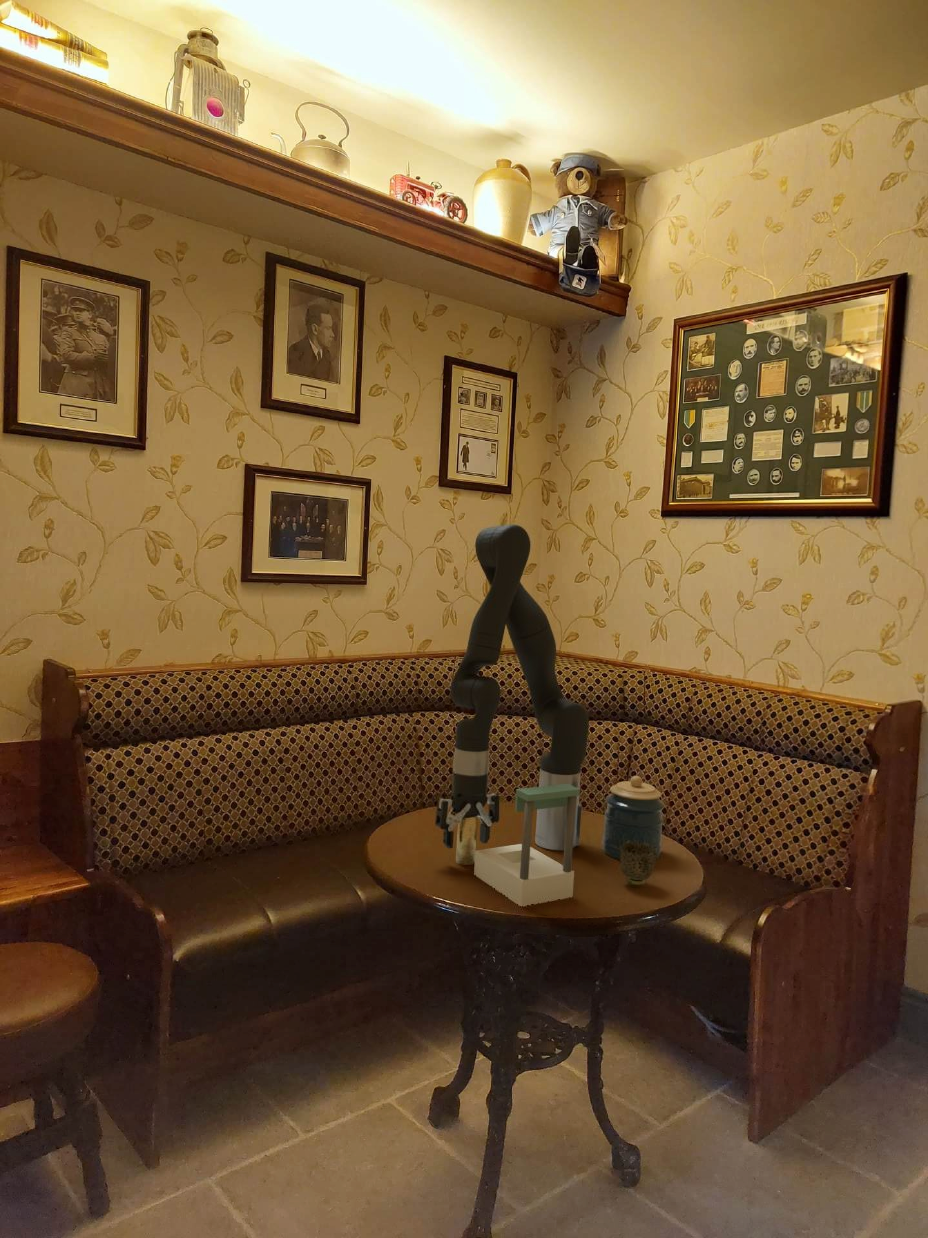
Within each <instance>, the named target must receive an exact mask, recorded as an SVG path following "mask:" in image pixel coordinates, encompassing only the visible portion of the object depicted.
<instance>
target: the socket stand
mask: <svg viewBox="0 0 928 1238" xmlns="http://www.w3.org/2000/svg"><path fill="white" fill-rule="evenodd" d="M580 795H581V788H580V789H578V788H576V787H574V786H571V785H569V784H561V785H551V786H542V787H539V786H533V787H524V788H516V789H515V798H514V799H515V800H514V801H515V802H514V803H515V804H514V812H515V813H519V812H523V821H522V823H523V824H522V837H521V843H518V844H512V845H511V844H510V845H505V846H504V845H503V846H498V847H490V848H484V849H478V850H477V849H475V863H474V869H473V870H474V871H473V875H474V876H475V875H476V877H477V878H478V879H479V880H481V881H482V882H484V883H486V884H487V885H489V886H490V887H491V886H492V887H491V888H493V889H494V888H495V889H494V890H495V891H497V892H499V893H500V894H501V893H502V894H501V895H503V896H504V895H505V896H504V897H506V898H507V897H508V898H507V899H509V900H510V901H512V902H513V903H515V904H516V905H517V904H518V905H517V906H519V907H520V906H521V908H523V907H528V906H527V905H529V906H532V905H531V904H534V905H538V903H539V904H543V903H548V901H549V902H553V901H559V900H558V899H560V900H564V899H565V900H566V899H570V898H573V897H574V882H575V880H574V879H575V870H572V865H573V861H572V860H573V849H574V848H573V837H574V822H575V808H576V796H579V797H580ZM562 806H567V816H566V831H565V845H564V850H563V861H562V862H563V863H560V862H558V861H556V860H554V859H553V858H551V857H549V856H548V855H545V854H544V853H542V852H540V851H538V850H537V849H535V848H533V847H532V846H531V842H532V830H533V829H532V828H533V815H534V814H533V812H534V811H537V809H545V808H553V807H562ZM569 897H570V898H569ZM522 906H523V907H522Z"/></svg>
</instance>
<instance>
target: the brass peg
mask: <svg viewBox="0 0 928 1238" xmlns="http://www.w3.org/2000/svg"><path fill="white" fill-rule="evenodd" d="M477 828H478V816H472V817H463V818H462V819H461V821H460V822H459V823H457V832H456V833H457V837H456V851H455V862H456V864H459V865H461V866H471V865H475V851H476V850H477V849H476V847H477V846H476V844H477V830H478V829H477Z"/></svg>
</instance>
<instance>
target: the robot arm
mask: <svg viewBox="0 0 928 1238" xmlns="http://www.w3.org/2000/svg"><path fill="white" fill-rule="evenodd" d="M474 546H475V553H476V557H477V559H478V563H479V565H480V567H481V569H482V572H483V574H484V576H485V577H486V579H487V582H488V584H489V585H490V588H489V591H488V593H487V594H486V596H485V598H484V599H483V601H482V603H481V605H480V606H479V608H478V610H477V612H476V614H475V616H474V618H473V619H472V623H471V628H470V632H469V637H468V641H467V648H466V651H465V653H464V656H463V658H462V659H461V660H460V661H461V662H460V664H459V666H458V668H457V670H456V672H455V674H454V676H453V678H452V680H451V684H450V691H449V693H450V697H451V701H452V702H453V703H454V704H455V705H456V706H458V707H463V708H469V709H473V710H475V714H474V715H473V718H471V717H470V718H464V719H461V720H459V721H458V722H457V725H456V730H455V731H456V732H455V733H456V734H455V746H454V747H455V748H454V753H453V760H452V762H453V763H452V778H451V793H452V794H451V797H450V798H445V799H444V798H442V797H439V798H438V799H437V805H436V813H435V822H434V825H435V826H436V827H438V828H439V829H441V830H442V831H443V835H442V836H443V837H442V843H443V845H444V846H445V847H446V848H447V849H449V850H450V849H453V848H454V833H455V831H453V830H454V828H455V827H456V826H457V825H458V823H459V822H460V821H461V819H462V818H463V817H472V816H477V819H479V820H480V822H481V823H480V826H479V827H480V828H479V841H480V842H481V843H482V844H488V841H489V840H490V838H491V835H490V834H491V827H492V824H494V823H498V822H499V821H500V796H499V795H498V794H496V793H494V792H491V791H490V792H489V793H488V794H487V792H488V786H489V773H490V772H489V771H490V770H489V768H490V754H489V753H490V750H489V749H490V734H491V733H490V732H491V728H492V724H493V722H494V719H495V715H496V713H497V709H498V706H499V704H500V700H501V695H502V694H501V687H500V684H499V682H498V681H497V679H495V678H494V677H491V676H487V675H485V676H484V675H479V672H480V671H481V670H482V668H484V667H489V666H490V667H491V666H495V665H496V664H497V663H498V662H499V659H500V654H501V650H502V647H503V646H502V645H503V640H504V634H505V630H506V628H507V632H508V636H509V638H510V641H511V645H512V647H513V650H514V652H515V654H516V658H517V659H518V663H519V664H520V668H521V671H522V673H523V676H524V679H525V681H526V684H527V687H528V690H529V694H530V698H531V702H532V706H533V711H534V715H535V719H536V721H537V724H538V727H539V729H540V730H541V732H543V734H544V735H546V736H548V737H549V738H551V744H550V745H551V746H550V749H549V753H545V754H543V755H542V756H541V758H540V764H539V779H538V787H542V786H551V785H561V784H569V785H571V786H574V787H576V788H578V789H580V790H581V787H580V786H581V771H582V764H583V763H584V761H585V758H586V754H587V748H588V747H587V746H588V737H589V729H590V727H589V726H590V723H589V722H590V721H589V719H590V718H589V714H588V712H587V710H586V709H585V707H584V706H583V705H581V704H580V703H577V702H575V701H571V700H569V699H566V697H565V696H564V694H563V691H562V688H561V687H560V684H559V681H558V678H557V674H556V660H557V644H556V640H555V635H554V633H553V632H554V631H553V630H552V626H551V623H550V621H549V619H548V617H547V615H546V613H545V611H544V610H543V609H542V607H541V606H540V605H539V603H538V602H537V601H536V600H535V599H534V598H533V596H532V595H531V594H530V593H529V592H528V591H527V589H526V588H525V587H524V585H523V584H522V582H521V579H522V577H523V574H524V571H525V568H526V565H527V564H528V560H529V557H530V552H531V539H530V535H529V534H528V531H527V530H526V529H525V528H523V527H522V526H521V525H518V524H503V525H495V526H489V527H485V528H483V529H481V530H480V531H479V532H478V533H477V536H476V539H475V545H474ZM579 800H580V795H579V796H576V808H575V822H574V837H573V849H574V848H575V847H576V846H580V839H581V825H582V823H581V822H582V810H583V805H582V804H581V803H580V801H579ZM486 804H487V805H488V813H487V811H486V810H485V808H484V807H485V806H486ZM450 806H451V807H452V808H451V809H450ZM449 810H450V811H449ZM566 816H567V806H562V807H553V808H545V809H537V810H536V824H535V838H534V841H535V842H534V843H535V844H536V846H539V847H540V848H543V849H547V850H553V851H564V845H565V831H566Z"/></svg>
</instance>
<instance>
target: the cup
mask: <svg viewBox="0 0 928 1238" xmlns="http://www.w3.org/2000/svg"><path fill="white" fill-rule="evenodd" d="M620 846H621V844H620ZM656 854H657V847H656V848H654V846H653V845H652V846H651V847H650V845H649V844H648V843H647V844H645V843H644V842H643V843H642V844H641V845H640V846H639V843H638V842H636V843H635V844H633V842H631V841H628V842H627V843H626V842H623V846H621V847H620V859H619V861H620V868H621V871H622V873H623V875H624V876H625V877H627V878H626V882H627V885H629V886H630V887H633V888H643V887H644V886H645V885H646V880H647V879H649V878H650V877H651V876H652V875H653V871H654V868H655V863H656V860H657V859H656ZM655 859H656V860H655Z"/></svg>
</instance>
